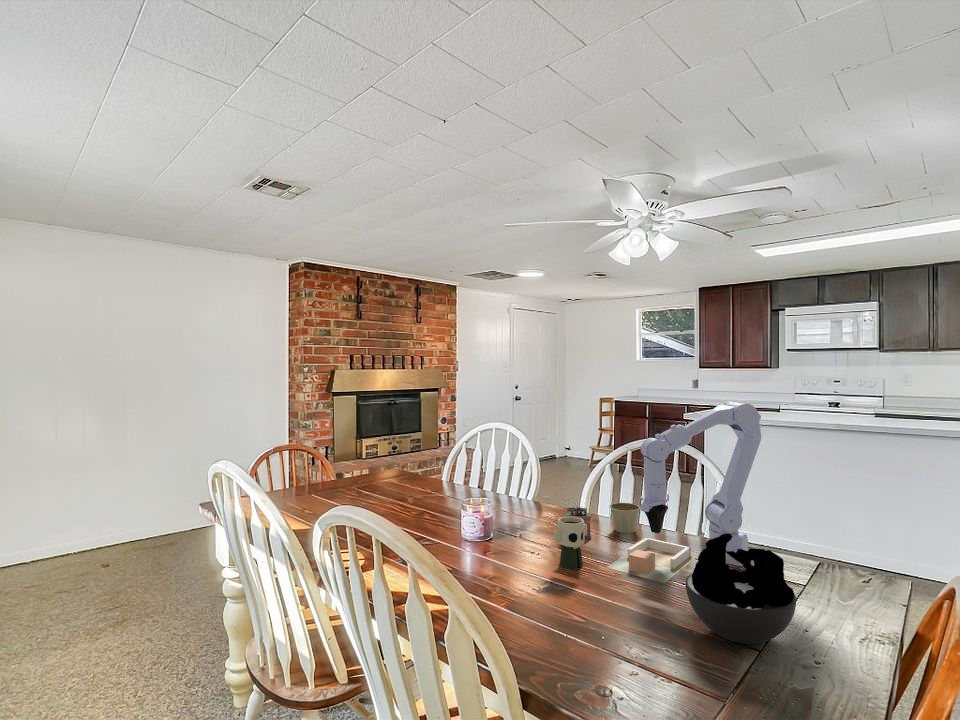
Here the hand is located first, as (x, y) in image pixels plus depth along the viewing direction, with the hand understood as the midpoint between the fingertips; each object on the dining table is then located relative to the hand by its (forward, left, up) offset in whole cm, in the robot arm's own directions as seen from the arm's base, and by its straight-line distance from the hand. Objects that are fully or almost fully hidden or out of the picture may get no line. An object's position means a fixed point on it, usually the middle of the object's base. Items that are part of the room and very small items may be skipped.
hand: (655, 532), depth 148 cm
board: (0, +3, -8) cm, 9 cm away
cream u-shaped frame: (0, -2, -7) cm, 8 cm away
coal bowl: (-29, +28, -9) cm, 41 cm away
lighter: (+27, -4, -9) cm, 29 cm away
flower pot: (+18, -18, -9) cm, 27 cm away
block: (0, +9, -8) cm, 12 cm away
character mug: (+16, +18, -9) cm, 25 cm away
